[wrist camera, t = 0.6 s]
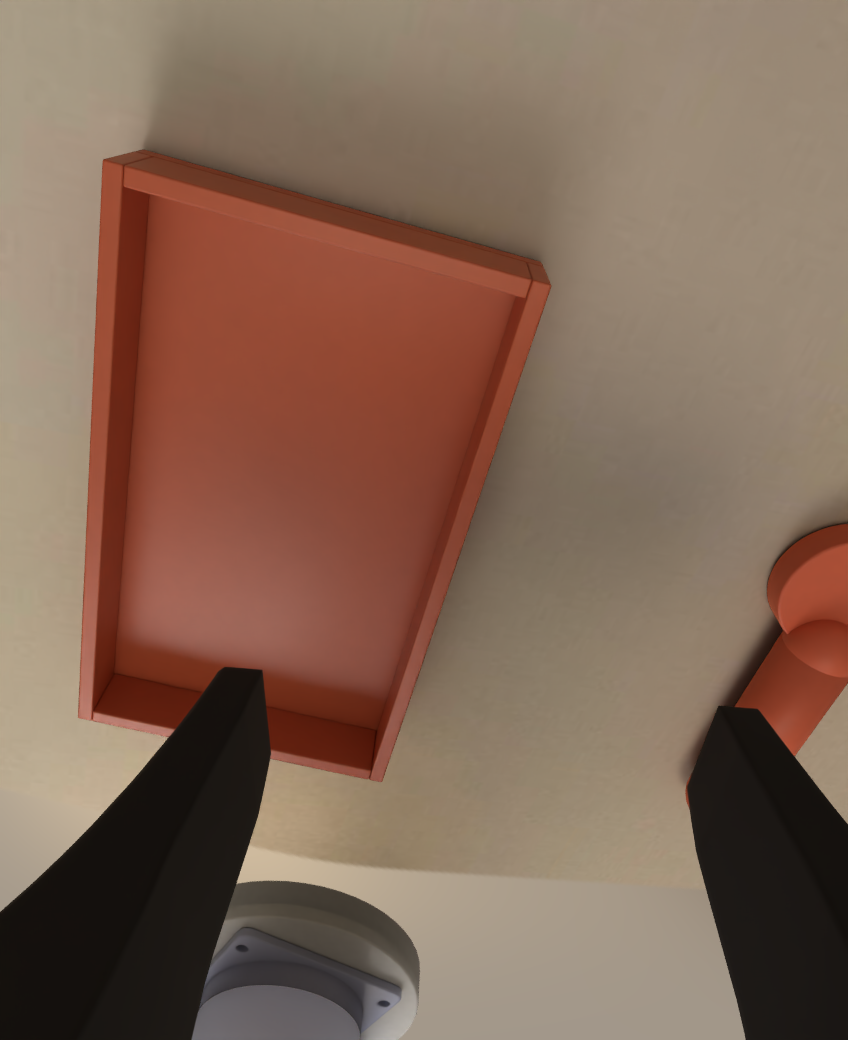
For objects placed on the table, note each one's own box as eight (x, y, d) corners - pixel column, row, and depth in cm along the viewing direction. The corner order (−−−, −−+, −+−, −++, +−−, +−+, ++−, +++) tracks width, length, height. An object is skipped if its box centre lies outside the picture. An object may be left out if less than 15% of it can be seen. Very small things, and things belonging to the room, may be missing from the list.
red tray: (387, 730, 24) (382, 783, 23) (106, 668, 24) (77, 718, 22) (542, 261, 17) (552, 284, 15) (141, 147, 16) (101, 158, 14)
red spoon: (748, 802, 25) (769, 856, 24) (645, 779, 25) (659, 832, 23) (934, 541, 20) (978, 585, 18) (807, 508, 20) (840, 550, 18)
